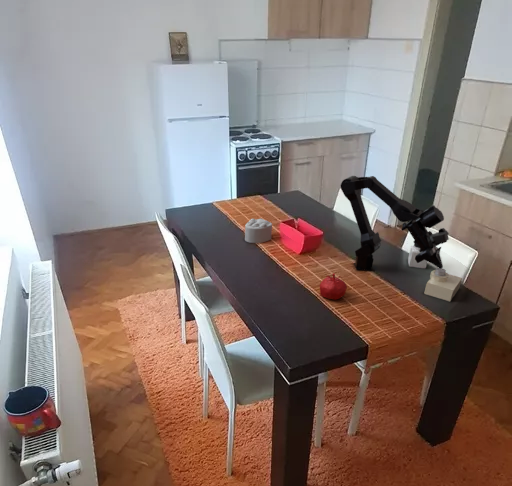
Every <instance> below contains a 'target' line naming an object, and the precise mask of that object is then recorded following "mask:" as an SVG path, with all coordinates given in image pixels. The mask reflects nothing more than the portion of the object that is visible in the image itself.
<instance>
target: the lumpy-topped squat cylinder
mask: <svg viewBox="0 0 512 486" xmlns="http://www.w3.org/2000/svg"><path fill="white" fill-rule="evenodd" d="M272 233H273V223H272V222H270V221H268V220H266V219H264V218H257V219H256V218H250V219H249V221H248V222H246V223H245V226H244V242H246V243H250V244H261V243H266V242H268V241H271V240H272V236H273V235H272Z"/></svg>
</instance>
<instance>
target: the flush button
mask: <svg viewBox="0 0 512 486" xmlns="http://www.w3.org/2000/svg"><path fill="white" fill-rule="evenodd" d="M435 270H436V272H435V274H436V275H438V276H445V272H446V273H447V270H446V269H445V268H444V267H443V268H441V269H440V268H438V267H437V268H436V269H435Z"/></svg>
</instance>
